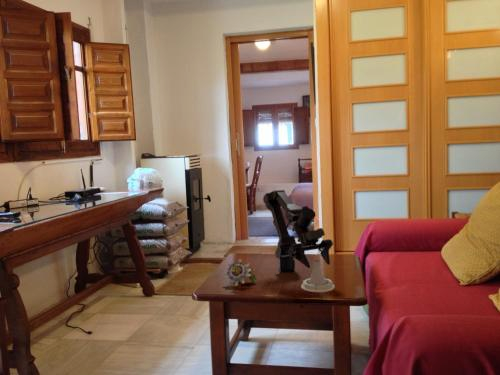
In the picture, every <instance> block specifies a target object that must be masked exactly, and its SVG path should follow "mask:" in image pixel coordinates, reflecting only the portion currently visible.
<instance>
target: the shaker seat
mask: <svg viewBox="0 0 500 375" xmlns="http://www.w3.org/2000/svg"><path fill="white" fill-rule="evenodd" d="M310 278H311V277H308V278H306V279H303V281H302V284H301V286H300V287H301V289H302V290H303V291H306V292H312V293H327V292H331V291H333V290H334V289H335V284H334V283H333V281H332V280H331V279H330V278H325V277H324V280H325V282H326V285H317V286H315V285H310V284H308V283H309V280H310Z"/></svg>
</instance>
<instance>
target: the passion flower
mask: <svg viewBox="0 0 500 375" xmlns="http://www.w3.org/2000/svg"><path fill="white" fill-rule="evenodd" d="M249 266H250V262H247V263H242V259H241V258H239V259H238V260H237V261H235V262H234V263H232V262H231V263H228V267H227V271H226V274H225V275H223V278H224V279H227V278H229V279H230V281H229V282H230V283H229V284H230V285H233V284H234V286H235V287H238V285H239V283H241V284H245V283H246V278H247V277H248V279H249V280H250V281H251V283H252V284H253V285H255V284H256V282H257V277H256V275H255V274H254V272H255V270H254V268H253V267H252V266H250V267H249ZM223 278H222V279H223Z"/></svg>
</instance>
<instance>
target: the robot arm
mask: <svg viewBox="0 0 500 375" xmlns="http://www.w3.org/2000/svg"><path fill="white" fill-rule="evenodd" d="M262 200H263V203H264V206H265V207H266V208H267V210H269V211H270V212H271V216H272V219H273V222H274V226H275V229H276V233H277V237H278V242H277V247H276V250H275V251H274V253H275V254H274V255H275V257H276V258H277V259H278V268H277V269H278V270H279V272H280V273H290V272H291V273H292V272H296V271H295V270H296V261H295V260H297V261H298V262H300V263H301V264H303V265H304V266H305V267H306V268H308V269H310V268H311V265H310V263H309V259H308V258H307V256H306V253H305V252H307V251H308V252H309V251H314V250H315V251H316V250H318V251H319V252H320V253H319V255H320V256H321V257H322V259H323V260H324V262H325V263H326V264H327V265H328V266H329V265H330V264H331V263H330V262H331V261H330V249H331V248H332V246H334V242H333V241H332V239H329V238H328V239H323V237H324V236H325V235H326V233H325V230H324V229H323V227H320V228H317V229H315V230H314V229H313V230H311V229H310V228H309V227H310V226H311V225H312V224H313V221H314V219H315V218H316V211H314V210H313V209H312V208H309V207H308V206H307V205H306V206H302V207H301V205H297V204H295V203H294V202H293V201H292V200H291V199H290V197H289V196H288V195H287V193H286V191H285V189H275V190H272V191H270V192H267V193H265V194H264V195H263V197H262ZM282 209H283V210H284V212H285V218H286V220H287V222H289V223H293V225H292V229H291V231H292V232H295V234H296V237H297V241H296V238H295V236H294V235H291V234H290V233H289V230H288V227H287V222H286V221H285V218H284V215H283V211H282ZM320 239H322V240H321V241H320ZM319 241H320V243H318V242H319Z"/></svg>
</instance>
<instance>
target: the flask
mask: <svg viewBox="0 0 500 375" xmlns="http://www.w3.org/2000/svg"><path fill="white" fill-rule="evenodd" d="M312 263H313V265H312V266H313V267H312V271H311V275H310V277H309V278H310V280H309V283H308V284H310V285H315V286H317V285H326V282H325V280H324V278H325V277H324V275H323V272H322V269H321V260H320V259H313V260H312Z"/></svg>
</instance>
